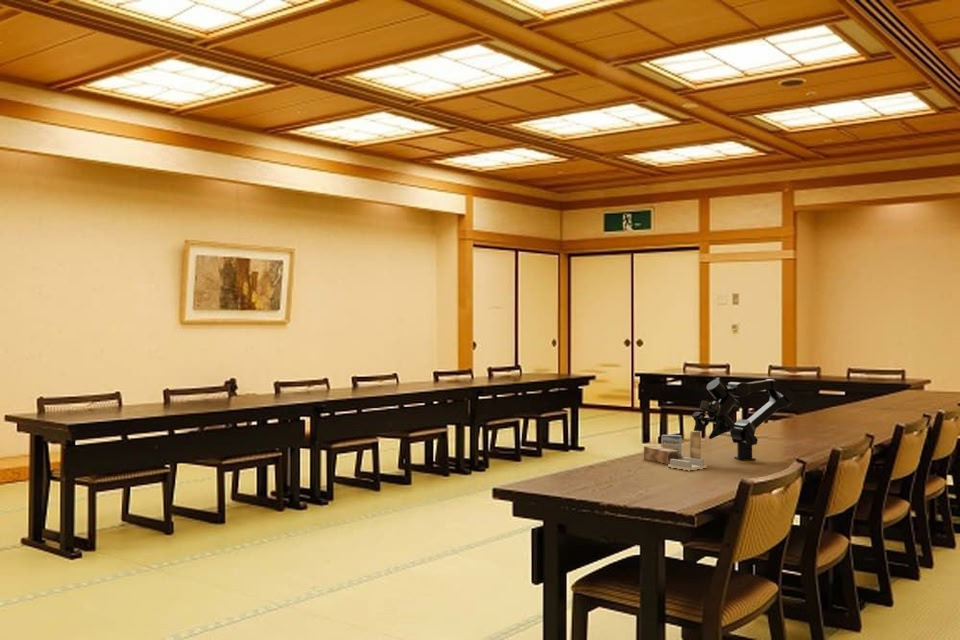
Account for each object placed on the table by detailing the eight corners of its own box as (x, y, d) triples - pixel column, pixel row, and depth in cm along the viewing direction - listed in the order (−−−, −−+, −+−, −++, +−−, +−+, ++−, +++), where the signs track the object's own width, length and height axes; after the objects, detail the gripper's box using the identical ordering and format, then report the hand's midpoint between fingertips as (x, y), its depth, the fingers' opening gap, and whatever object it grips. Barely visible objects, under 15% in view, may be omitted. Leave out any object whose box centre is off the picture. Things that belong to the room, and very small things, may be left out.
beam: (643, 459, 358) (643, 446, 358) (654, 458, 360) (654, 445, 360) (668, 464, 343) (668, 451, 344) (678, 464, 346) (678, 451, 346)
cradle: (685, 465, 343) (685, 456, 343) (706, 468, 335) (706, 459, 335) (667, 467, 337) (667, 459, 337) (688, 471, 329) (688, 462, 329)
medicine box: (661, 456, 364) (661, 435, 364) (662, 455, 369) (662, 434, 369) (681, 457, 362) (681, 436, 362) (681, 456, 366) (681, 434, 366)
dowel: (688, 463, 348) (688, 431, 348) (698, 463, 348) (698, 430, 348) (692, 464, 344) (692, 432, 344) (702, 464, 344) (702, 432, 344)
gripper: (695, 391, 358) (674, 420, 353) (729, 395, 342) (706, 425, 337) (710, 410, 362) (689, 439, 357) (744, 414, 345) (722, 445, 340)
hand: (701, 437), depth 347 cm, fingers open, 9 cm apart
